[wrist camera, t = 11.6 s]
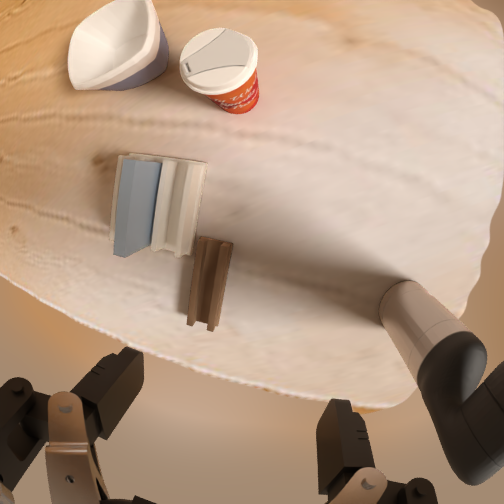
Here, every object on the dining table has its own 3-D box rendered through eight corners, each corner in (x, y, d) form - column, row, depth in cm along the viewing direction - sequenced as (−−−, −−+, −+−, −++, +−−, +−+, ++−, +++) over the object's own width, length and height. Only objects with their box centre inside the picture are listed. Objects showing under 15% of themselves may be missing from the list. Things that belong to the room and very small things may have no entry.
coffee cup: (223, 130, 38) (189, 104, 24) (203, 85, 37) (165, 45, 22) (276, 108, 37) (270, 70, 22) (255, 64, 35) (239, 13, 21)
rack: (207, 163, 40) (197, 161, 35) (192, 253, 43) (181, 262, 39) (133, 153, 40) (117, 151, 36) (122, 236, 44) (106, 242, 39)
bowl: (102, 46, 36) (68, 26, 25) (175, 13, 33) (150, -19, 23) (106, 112, 39) (64, 100, 28) (186, 80, 37) (156, 54, 26)
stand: (233, 243, 42) (229, 247, 39) (218, 324, 46) (214, 332, 43) (201, 236, 42) (195, 240, 40) (190, 316, 46) (184, 324, 43)
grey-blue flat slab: (169, 163, 39) (136, 160, 29) (157, 241, 42) (124, 257, 33) (158, 162, 39) (123, 158, 30) (147, 238, 42) (113, 254, 33)
